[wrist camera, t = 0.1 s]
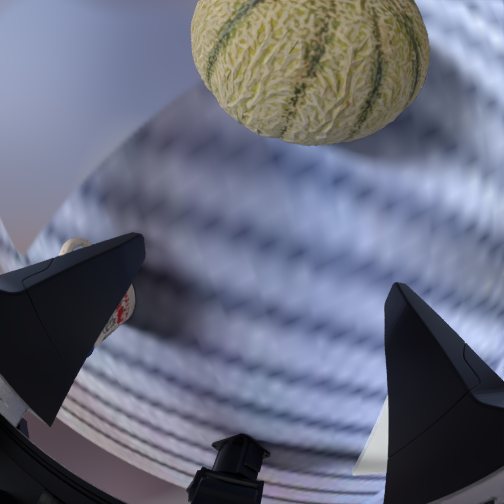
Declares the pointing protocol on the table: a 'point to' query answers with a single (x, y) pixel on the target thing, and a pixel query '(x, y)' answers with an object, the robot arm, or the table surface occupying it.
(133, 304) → the teacup with lid
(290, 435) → the table surface
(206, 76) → the cantaloupe
